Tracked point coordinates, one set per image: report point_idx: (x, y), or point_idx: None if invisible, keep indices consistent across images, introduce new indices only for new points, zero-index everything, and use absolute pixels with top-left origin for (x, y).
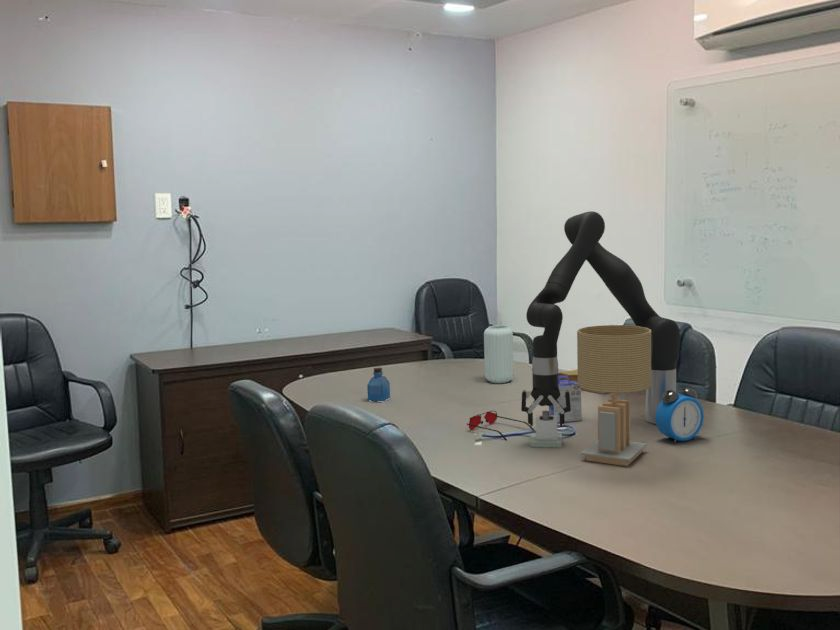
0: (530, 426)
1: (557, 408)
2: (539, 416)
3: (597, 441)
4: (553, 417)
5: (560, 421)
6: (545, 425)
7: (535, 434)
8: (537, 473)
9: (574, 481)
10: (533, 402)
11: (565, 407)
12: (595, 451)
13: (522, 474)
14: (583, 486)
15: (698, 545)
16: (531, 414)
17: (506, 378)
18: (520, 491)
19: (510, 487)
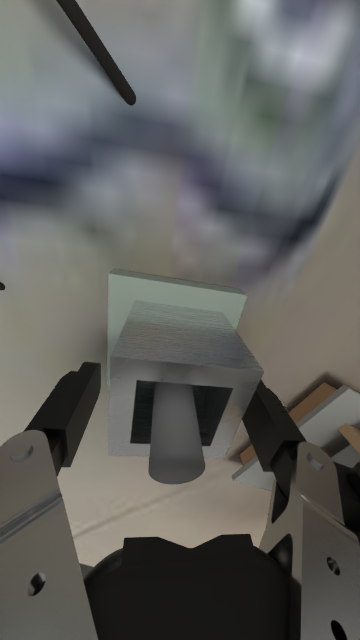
0: (98, 50)
1: (269, 532)
2: (133, 385)
3: (316, 418)
4: (225, 409)
5: (247, 425)
6: None
7: (128, 294)
8: (128, 501)
9: (186, 517)
10: (7, 594)
11: (348, 507)
12: (269, 474)
13: (99, 505)
14: (194, 527)
15: None
16: (63, 462)
17: None
18: (101, 541)
19: (84, 535)
